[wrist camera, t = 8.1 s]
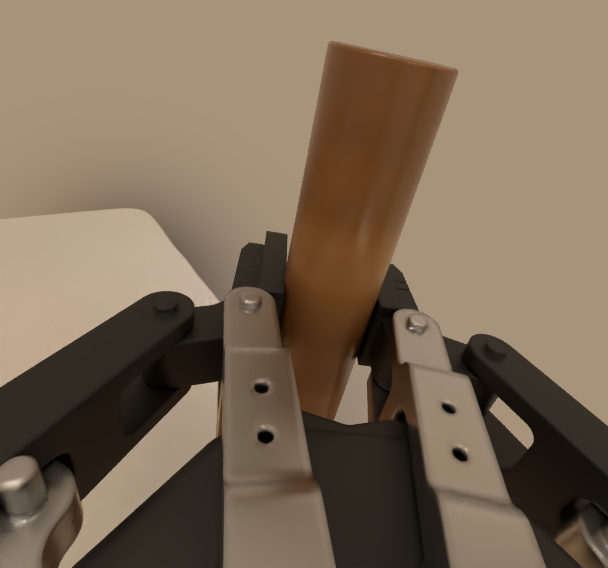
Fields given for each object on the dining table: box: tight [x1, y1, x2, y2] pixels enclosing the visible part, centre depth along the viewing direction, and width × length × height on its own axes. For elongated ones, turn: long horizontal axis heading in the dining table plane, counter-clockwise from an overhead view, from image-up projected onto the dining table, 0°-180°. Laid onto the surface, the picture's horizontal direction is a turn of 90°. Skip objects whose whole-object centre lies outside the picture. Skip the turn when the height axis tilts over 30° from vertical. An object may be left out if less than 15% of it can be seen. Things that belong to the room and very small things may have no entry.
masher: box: [279, 41, 458, 421], centre depth 14 cm, size 5×5×22 cm
